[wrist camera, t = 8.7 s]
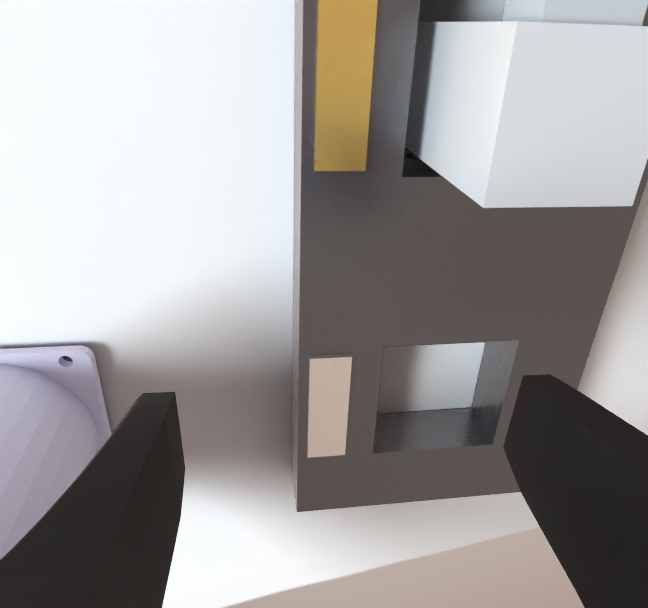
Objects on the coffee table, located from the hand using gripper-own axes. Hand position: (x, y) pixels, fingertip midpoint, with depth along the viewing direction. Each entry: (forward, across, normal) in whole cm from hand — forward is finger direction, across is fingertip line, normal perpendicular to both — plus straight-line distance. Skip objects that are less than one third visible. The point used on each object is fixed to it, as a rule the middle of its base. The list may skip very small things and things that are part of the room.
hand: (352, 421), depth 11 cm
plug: (+11, -6, -5) cm, 13 cm away
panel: (+10, -6, 0) cm, 12 cm away
